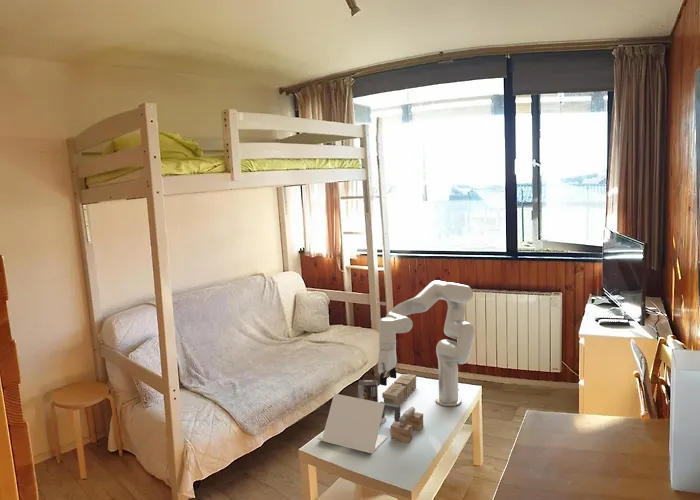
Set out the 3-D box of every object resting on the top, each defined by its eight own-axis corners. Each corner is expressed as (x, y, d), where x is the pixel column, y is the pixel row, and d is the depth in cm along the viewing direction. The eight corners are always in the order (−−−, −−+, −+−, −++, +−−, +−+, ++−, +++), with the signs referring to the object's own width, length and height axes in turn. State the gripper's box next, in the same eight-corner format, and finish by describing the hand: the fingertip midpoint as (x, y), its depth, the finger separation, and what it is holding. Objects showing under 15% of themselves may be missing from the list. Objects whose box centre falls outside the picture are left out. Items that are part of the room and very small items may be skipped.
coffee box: (378, 411, 254) (377, 379, 252) (378, 417, 248) (377, 384, 246) (360, 411, 255) (359, 379, 253) (359, 417, 249) (357, 384, 246)
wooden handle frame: (407, 422, 241) (406, 403, 240) (423, 426, 237) (423, 406, 236) (390, 438, 227) (390, 418, 226) (407, 443, 223) (407, 421, 221)
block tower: (402, 388, 283) (381, 408, 257) (402, 373, 282) (381, 391, 257) (416, 390, 280) (396, 411, 254) (416, 375, 279) (396, 394, 253)
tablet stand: (338, 426, 240) (337, 391, 238) (387, 438, 228) (386, 400, 226) (317, 444, 225) (315, 407, 222) (368, 457, 213) (367, 418, 210)
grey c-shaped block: (381, 419, 246) (380, 400, 244) (402, 423, 240) (401, 405, 239) (377, 422, 243) (376, 403, 241) (398, 427, 237) (398, 408, 236)
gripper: (388, 338, 246) (389, 373, 248) (371, 349, 231) (372, 386, 233) (403, 340, 242) (403, 376, 244) (386, 351, 227) (387, 389, 229)
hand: (388, 381), depth 239 cm, fingers open, 9 cm apart
